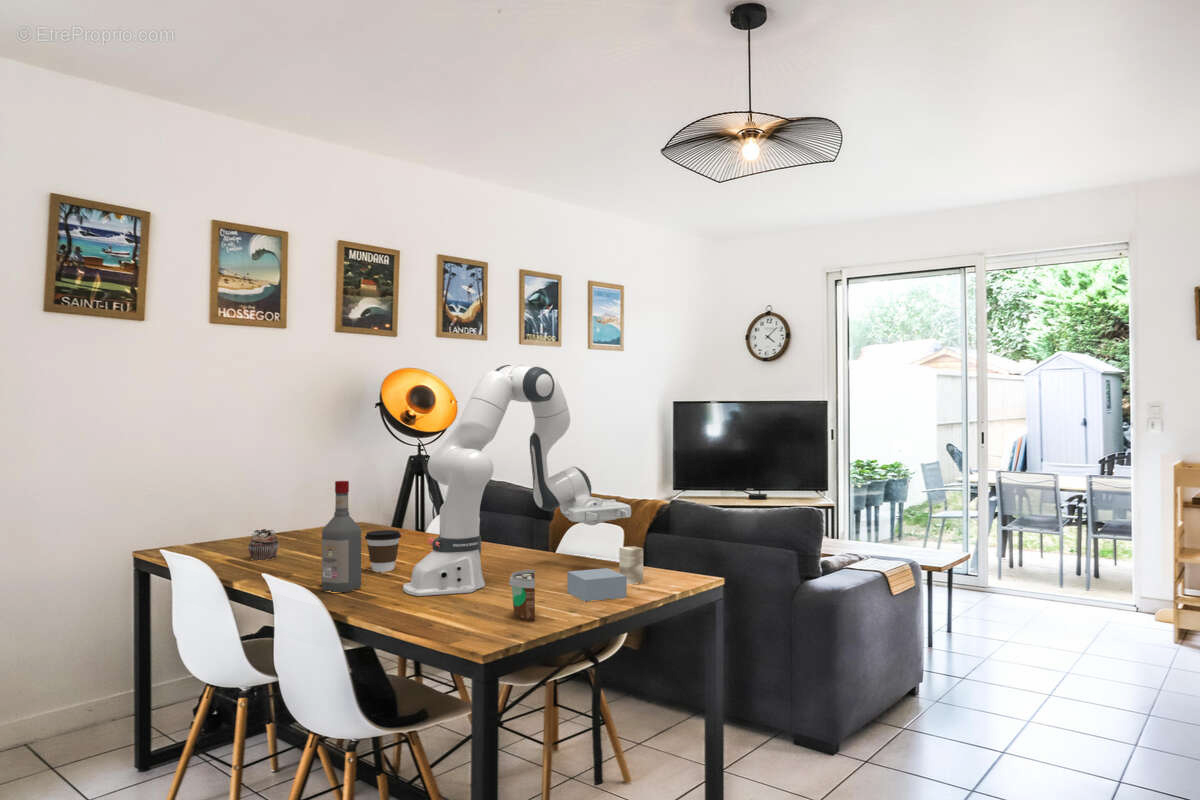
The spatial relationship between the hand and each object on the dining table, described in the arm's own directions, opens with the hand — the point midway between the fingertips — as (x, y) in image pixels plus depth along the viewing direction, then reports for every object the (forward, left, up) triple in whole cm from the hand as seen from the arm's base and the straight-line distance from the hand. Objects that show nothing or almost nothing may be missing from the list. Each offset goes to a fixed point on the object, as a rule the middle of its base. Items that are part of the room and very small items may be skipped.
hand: (611, 515), depth 235 cm
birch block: (0, -12, -18) cm, 22 cm away
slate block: (-16, -21, -18) cm, 32 cm away
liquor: (-75, +19, -18) cm, 80 cm away
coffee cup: (-59, +40, -18) cm, 74 cm away
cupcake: (-90, +81, -18) cm, 123 cm away
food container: (-42, -32, -18) cm, 56 cm away
